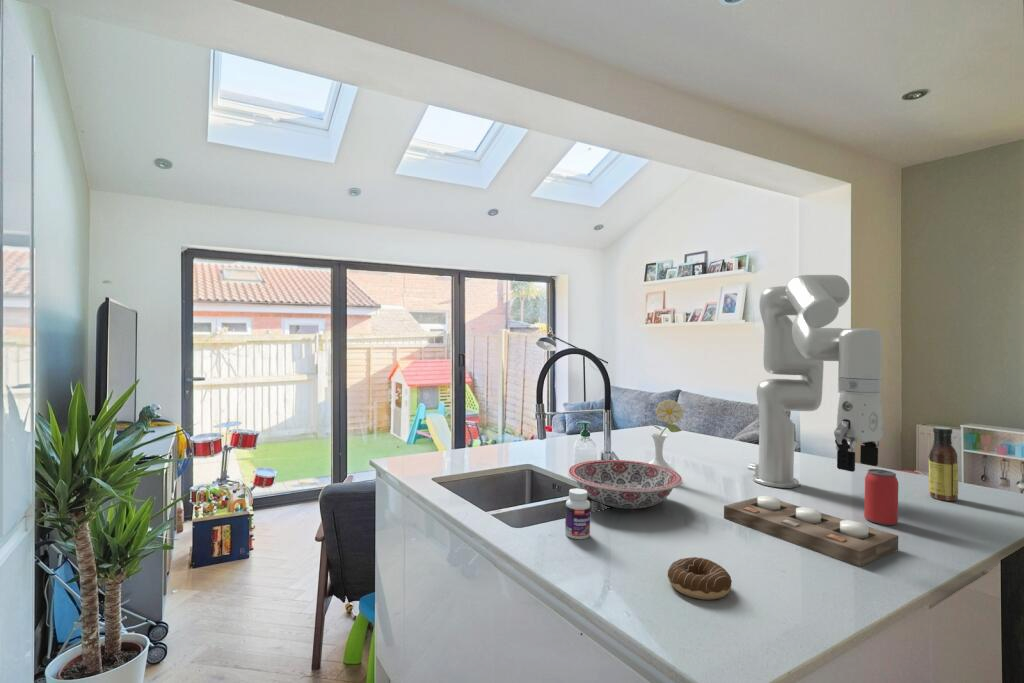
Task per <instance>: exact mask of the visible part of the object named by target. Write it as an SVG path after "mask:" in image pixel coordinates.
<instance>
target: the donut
mask: <svg viewBox="0 0 1024 683" xmlns="http://www.w3.org/2000/svg"><path fill="white" fill-rule="evenodd" d="M667 577H668V581H669V583H670V585H671V586H672V587H673V588H674V589H675V590H676V591H677V592H679V593H681V594H683V595H685V596H688V597H690V598H694V599H698V600H708V601H710V600H711V601H712V600H717V599H721V598H723V597H725V596H726V595H728V594H729V592H730V591H731V588H732V578H731V575H730V574H729V572H728V571H727V570H726V569H725V568H723V566H721V565H720V564H718V563H716V562H715V561H713V560H710V559H708V558H705V557H704V558H703V557H697V556H695V557H694V556H693V557H684V558H680V559H677V560H676V561H673V562H672V563H671V564H670V565H669V568H668V570H667Z"/></svg>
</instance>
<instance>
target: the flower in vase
mask: <svg viewBox="0 0 1024 683" xmlns="http://www.w3.org/2000/svg"><path fill="white" fill-rule="evenodd" d="M684 412H685V411H684V410H683V407H682V405H681V404H680V403H679V402H678V401H676V400H674V399H673V400H671V399H670V398H669V399H667V400H666V399H664V400H663V401H661V402H659V403H658V405H656V409H655V415H656V417H657V419H658V421H660V422H662V423H664V424H665V423H666V426H665V427H664V428H663V429H662V428H661V427H659V426H657V425H655V424H653V423H652V422H651V423H650V424H651V425H652V426H653V427H654V428H656V429H658V430H660V431H661V433H660V432H658V433H657V432H654V433H651V434H650V436H651V437H652V439H653V443H654V457H653V458H652V460H650V461H649V462H648V463H649V464H654V465H658V466H662V467H665V468H668V469H670V470H673V471H675V472H676V473H678V472H677V471H676V470H675V469H674V467H672V466H671V464H669V463H668V462H667V461H666V460H665V459H664V454H663V448H664V445H665V444H664V443H665V441H666V438H667V437H668V434H666V433H664V432H665V430H666V429H668V430H669V432H671V433H679V432H682V429H681V428H680V427H679V426H678V425H677V424H675V423H678V422H680V421H681V420H682V418H683V415H684Z"/></svg>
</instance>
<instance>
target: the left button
mask: <svg viewBox="0 0 1024 683" xmlns="http://www.w3.org/2000/svg"><path fill="white" fill-rule="evenodd" d="M757 497H758V498H757ZM757 497H756V498H757V506H758V507H759V508H763V509H766V510H769V511H778V510H780V501H781V499H779V498H777V497H774V496H771V495H769V496H768V495H760V496H759V495H758V496H757Z"/></svg>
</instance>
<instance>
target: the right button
mask: <svg viewBox="0 0 1024 683" xmlns="http://www.w3.org/2000/svg"><path fill="white" fill-rule="evenodd" d="M869 527H870V526H868V525H867V524H865V523H863V522H860V521H855V520H848V519H847V520H846V519H844V520H843V521H840V533H842V534H844V535H847V536H850V537H854V538H859V539H866V538H868V529H869Z"/></svg>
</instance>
